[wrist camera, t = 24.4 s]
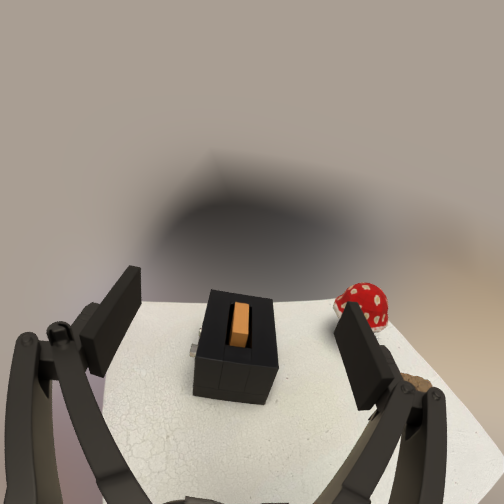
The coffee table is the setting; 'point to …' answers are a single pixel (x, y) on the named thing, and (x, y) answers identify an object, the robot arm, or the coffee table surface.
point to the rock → (417, 382)
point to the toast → (239, 325)
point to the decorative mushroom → (366, 304)
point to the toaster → (235, 351)
